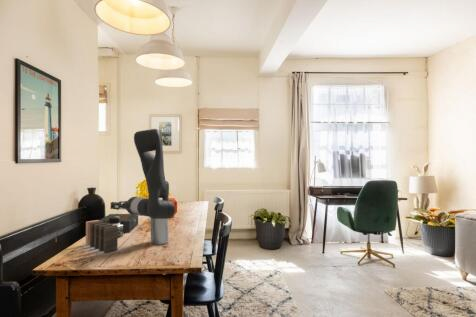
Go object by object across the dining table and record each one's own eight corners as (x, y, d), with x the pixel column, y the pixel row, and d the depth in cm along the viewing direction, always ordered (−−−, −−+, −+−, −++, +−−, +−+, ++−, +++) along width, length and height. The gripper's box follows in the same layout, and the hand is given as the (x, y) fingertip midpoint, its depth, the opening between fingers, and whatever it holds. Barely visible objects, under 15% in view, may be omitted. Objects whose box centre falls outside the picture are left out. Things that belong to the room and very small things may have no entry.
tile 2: (112, 248, 149) (112, 224, 149) (100, 251, 144) (100, 226, 144) (110, 247, 150) (110, 223, 150) (98, 250, 145) (98, 225, 145)
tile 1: (117, 250, 145) (117, 225, 145) (105, 253, 141) (105, 227, 141) (115, 249, 147) (115, 225, 147) (103, 252, 142) (103, 227, 142)
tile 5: (99, 243, 158) (99, 220, 158) (87, 245, 153) (87, 222, 153) (97, 242, 159) (97, 220, 159) (85, 245, 154) (85, 221, 154)
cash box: (130, 233, 183) (130, 220, 183) (95, 234, 181) (95, 221, 181) (139, 224, 208) (139, 213, 208) (109, 225, 205) (109, 213, 205)
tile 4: (103, 245, 155) (103, 221, 155) (91, 247, 150) (91, 223, 150) (101, 244, 156) (101, 221, 156) (89, 246, 151) (89, 223, 151)
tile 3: (107, 246, 152) (107, 223, 152) (95, 249, 147) (96, 224, 147) (106, 246, 153) (106, 222, 153) (94, 248, 148) (94, 224, 148)
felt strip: (122, 251, 146) (122, 250, 146) (102, 256, 138) (102, 255, 138) (99, 242, 162) (99, 241, 162) (80, 246, 154) (80, 245, 154)
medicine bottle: (116, 240, 166) (116, 218, 166) (104, 239, 168) (104, 217, 168) (123, 236, 173) (123, 216, 173) (112, 236, 175) (112, 215, 175)
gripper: (154, 196, 132) (135, 194, 143) (123, 198, 121) (105, 196, 132) (154, 213, 131) (135, 210, 142) (122, 217, 121) (105, 213, 132)
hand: (121, 203), depth 137 cm, fingers open, 8 cm apart
